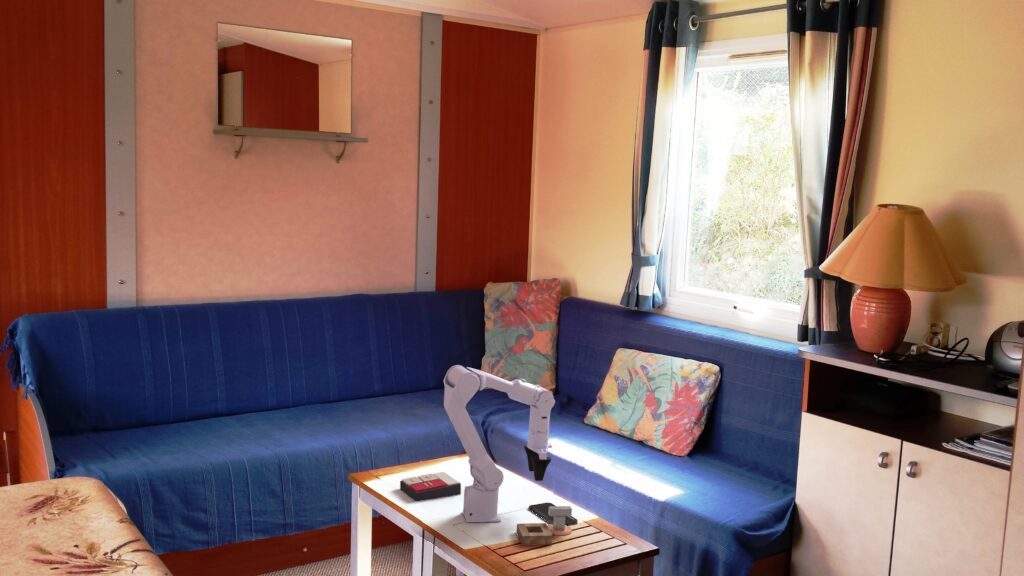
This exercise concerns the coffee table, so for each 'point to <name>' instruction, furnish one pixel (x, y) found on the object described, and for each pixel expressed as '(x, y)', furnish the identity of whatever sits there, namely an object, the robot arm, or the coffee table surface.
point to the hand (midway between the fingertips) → (535, 475)
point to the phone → (543, 512)
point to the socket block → (534, 534)
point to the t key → (559, 516)
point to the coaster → (566, 532)
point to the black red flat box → (430, 486)
